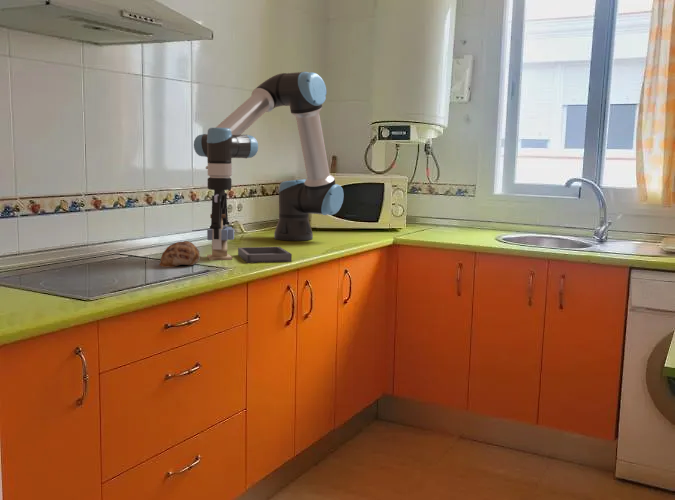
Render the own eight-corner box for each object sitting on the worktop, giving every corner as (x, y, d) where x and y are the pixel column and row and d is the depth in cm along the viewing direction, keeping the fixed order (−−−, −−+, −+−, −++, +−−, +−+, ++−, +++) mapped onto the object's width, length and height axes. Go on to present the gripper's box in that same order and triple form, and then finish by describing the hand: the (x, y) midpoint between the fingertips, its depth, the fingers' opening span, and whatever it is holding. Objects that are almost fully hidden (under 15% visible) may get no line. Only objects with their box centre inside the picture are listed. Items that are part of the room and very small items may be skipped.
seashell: (180, 258, 225) (191, 232, 221) (197, 276, 221) (209, 250, 217) (153, 262, 217) (164, 235, 213) (170, 280, 213) (181, 253, 209)
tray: (279, 254, 244) (279, 246, 244) (291, 261, 228) (291, 253, 228) (238, 255, 240) (238, 247, 240) (247, 263, 224) (247, 255, 224)
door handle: (228, 256, 237) (228, 213, 235) (232, 259, 230) (232, 215, 228) (207, 257, 235) (207, 213, 233) (210, 260, 228) (210, 215, 226)
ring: (212, 236, 236) (212, 226, 236) (236, 236, 236) (236, 226, 236) (207, 239, 227) (207, 229, 226) (232, 240, 227) (232, 230, 226)
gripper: (214, 175, 240) (214, 242, 243) (200, 178, 218) (201, 251, 221) (236, 175, 240) (236, 242, 243) (225, 178, 218) (225, 252, 221)
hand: (219, 247), depth 232 cm, fingers closed on ring, 10 cm apart
